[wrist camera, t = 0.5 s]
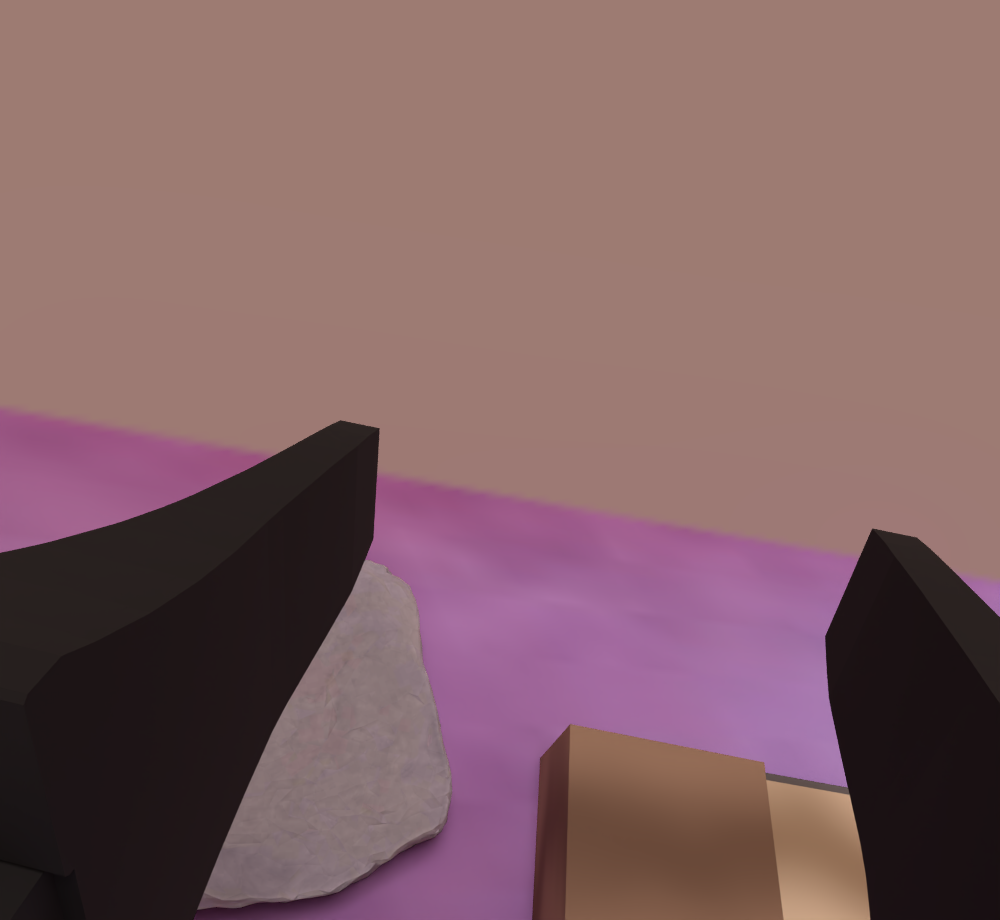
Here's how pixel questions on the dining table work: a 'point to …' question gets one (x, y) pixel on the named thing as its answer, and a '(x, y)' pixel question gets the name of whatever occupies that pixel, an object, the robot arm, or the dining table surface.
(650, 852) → the walnut block
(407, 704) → the stone block
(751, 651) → the dining table surface
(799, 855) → the tile
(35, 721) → the robot arm
